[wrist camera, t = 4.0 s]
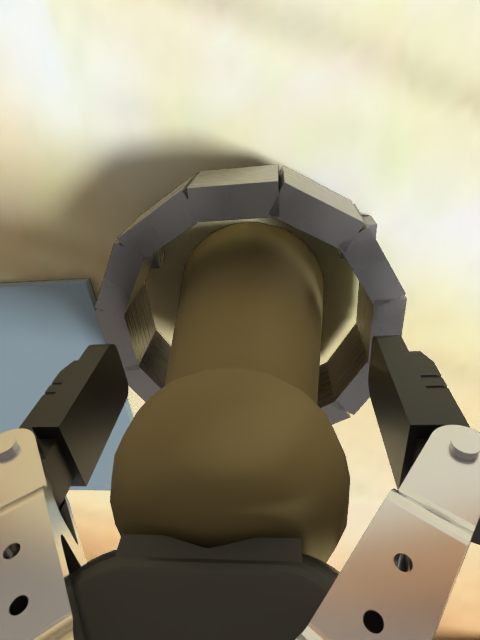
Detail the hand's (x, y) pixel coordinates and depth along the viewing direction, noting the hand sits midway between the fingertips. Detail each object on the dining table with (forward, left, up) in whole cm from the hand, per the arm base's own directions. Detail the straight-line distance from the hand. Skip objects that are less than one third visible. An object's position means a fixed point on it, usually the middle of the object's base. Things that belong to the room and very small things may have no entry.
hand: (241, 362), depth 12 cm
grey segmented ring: (0, 0, -5) cm, 5 cm away
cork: (0, 0, -5) cm, 5 cm away
